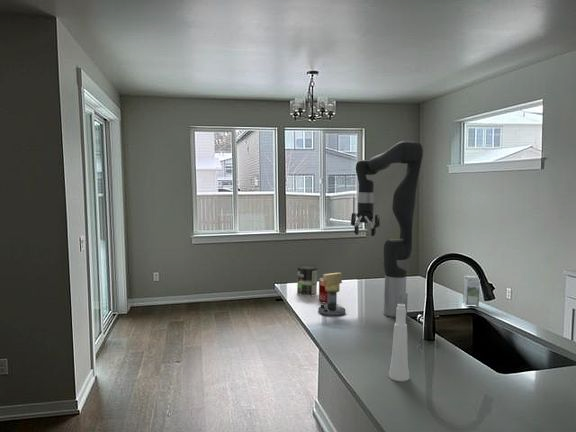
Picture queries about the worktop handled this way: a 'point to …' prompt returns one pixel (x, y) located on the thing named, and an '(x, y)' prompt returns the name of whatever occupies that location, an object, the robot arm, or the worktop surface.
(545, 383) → the worktop surface
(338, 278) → the door handle
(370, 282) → the worktop surface
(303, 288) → the coffee can
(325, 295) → the canned food
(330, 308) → the round metal flange
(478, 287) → the syrup box
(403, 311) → the cosmetic bottle
